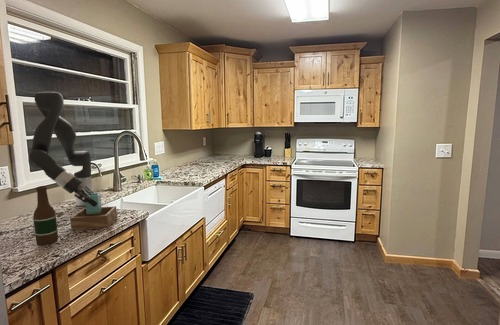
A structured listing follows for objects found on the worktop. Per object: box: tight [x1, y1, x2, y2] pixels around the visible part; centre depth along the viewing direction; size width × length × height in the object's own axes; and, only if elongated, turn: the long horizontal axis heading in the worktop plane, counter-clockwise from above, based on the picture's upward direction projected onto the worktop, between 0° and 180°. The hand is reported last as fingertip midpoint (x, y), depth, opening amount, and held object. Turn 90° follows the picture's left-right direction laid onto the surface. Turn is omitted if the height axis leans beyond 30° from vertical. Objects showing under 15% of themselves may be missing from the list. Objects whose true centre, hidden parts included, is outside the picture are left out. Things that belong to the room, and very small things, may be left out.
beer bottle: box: [32, 185, 59, 247], centre depth 121 cm, size 8×8×24 cm
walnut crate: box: [69, 205, 118, 231], centre depth 145 cm, size 16×16×6 cm
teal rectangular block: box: [85, 192, 103, 214], centre depth 143 cm, size 6×6×9 cm
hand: (97, 203), depth 144 cm, fingers closed on teal rectangular block, 5 cm apart
